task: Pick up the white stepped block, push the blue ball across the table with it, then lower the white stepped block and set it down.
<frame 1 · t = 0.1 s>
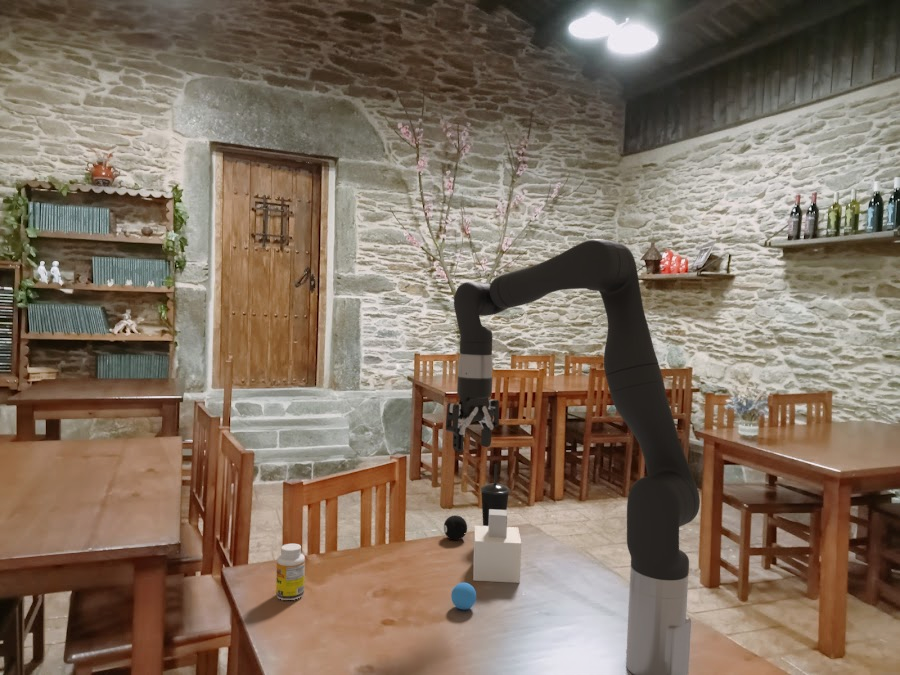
hand: (472, 448, 139), 29 cm above the table, tool pointing down, fingers open, 8 cm apart
supplement bottle: (290, 597, 129), on the table
white stepped block: (495, 572, 145), on the table
billiard ball: (455, 539, 165), on the table
blue ball: (463, 595, 126), on the table
drinking cup: (493, 541, 164), on the table
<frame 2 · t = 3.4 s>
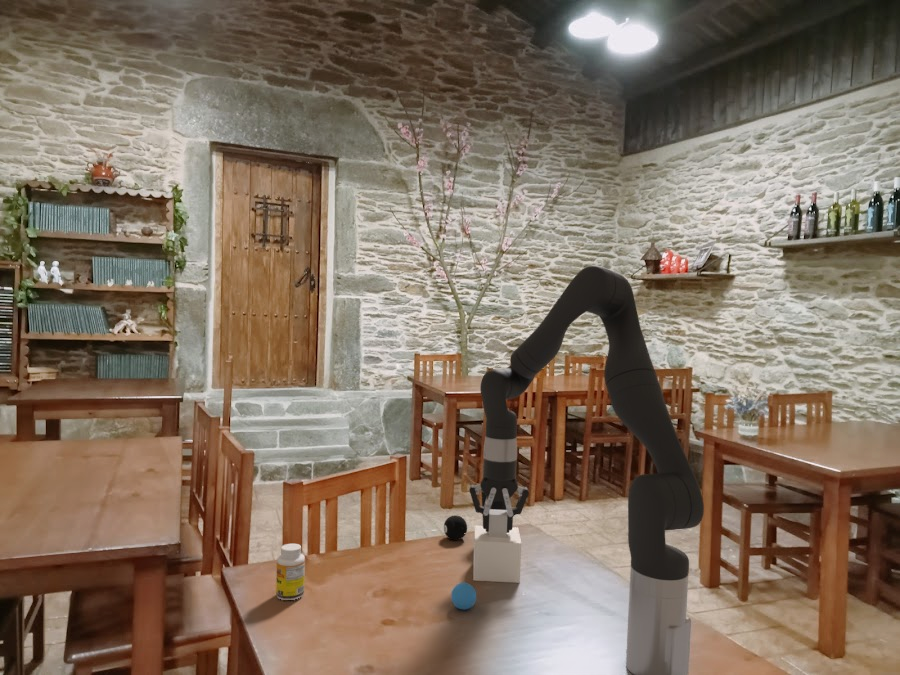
hand: (497, 530, 144), 10 cm above the table, tool pointing down, fingers closed on white stepped block, 4 cm apart
white stepped block: (495, 572, 145), on the table, touching gripper
everything else where it was.
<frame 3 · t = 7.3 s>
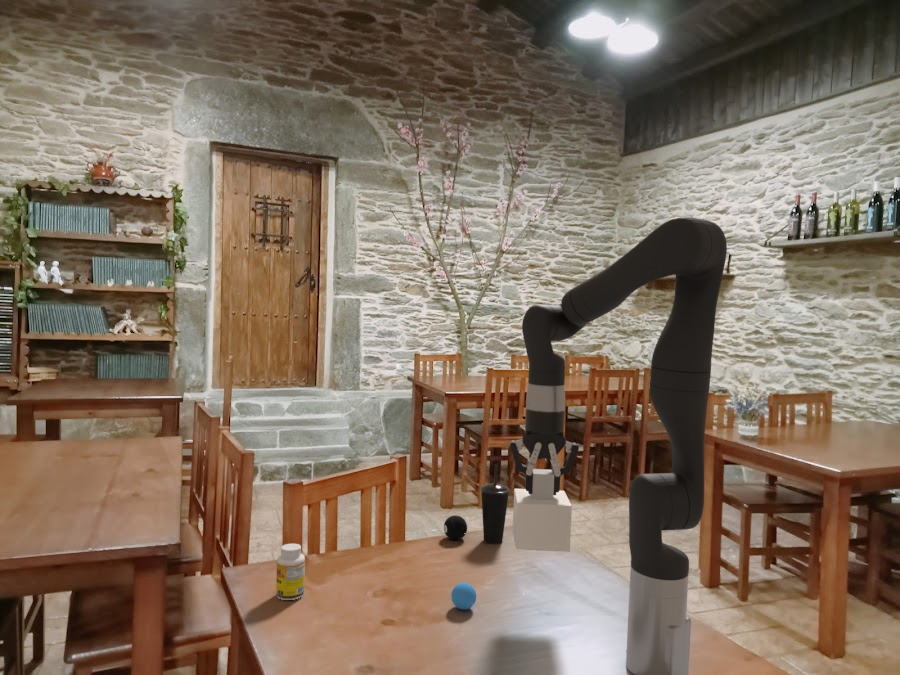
hand: (541, 493, 125), 24 cm above the table, tool pointing down, fingers closed on white stepped block, 4 cm apart
white stepped block: (540, 540, 125), point 14 cm above the table, touching gripper
everything else where it was.
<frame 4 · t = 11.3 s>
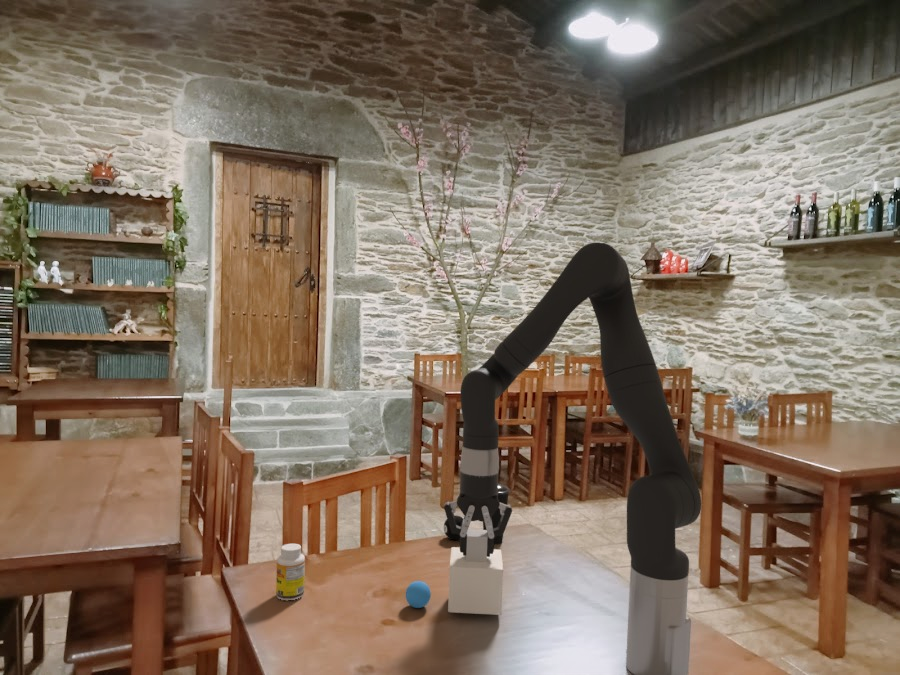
hand: (476, 554, 126), 11 cm above the table, tool pointing down, fingers closed on white stepped block, 4 cm apart
white stepped block: (474, 601, 126), point 1 cm above the table, touching gripper
blue ball: (418, 594, 126), on the table
everything else where it was.
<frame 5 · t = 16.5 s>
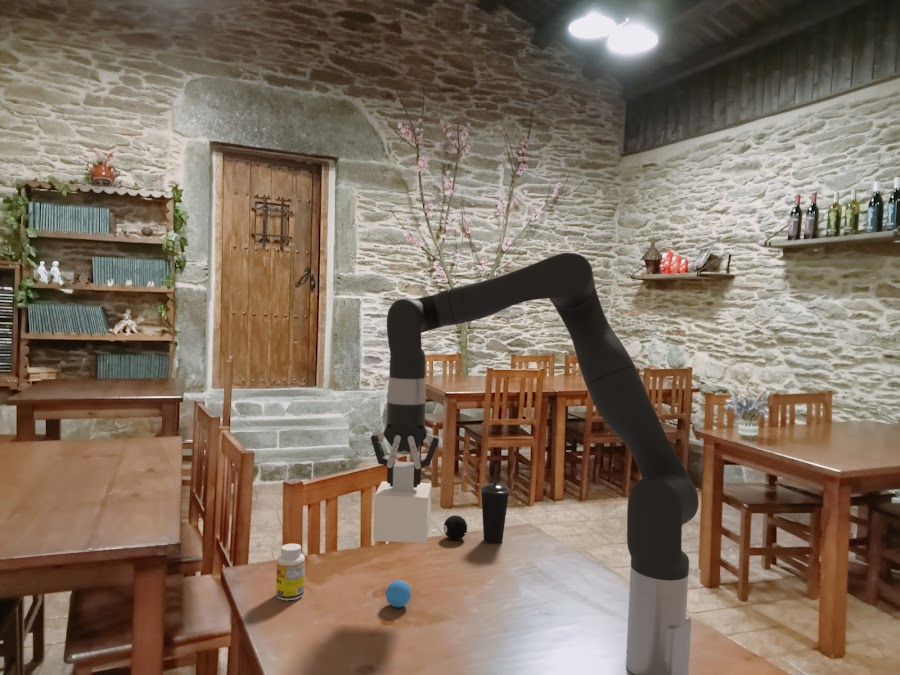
hand: (403, 485, 126), 24 cm above the table, tool pointing down, fingers closed on white stepped block, 4 cm apart
white stepped block: (402, 532, 126), point 15 cm above the table, touching gripper
blue ball: (398, 593, 126), on the table
everything else where it was.
when the fingers open (10 cm above the table, at t = 21.3 s): white stepped block stays where it is, on the table.
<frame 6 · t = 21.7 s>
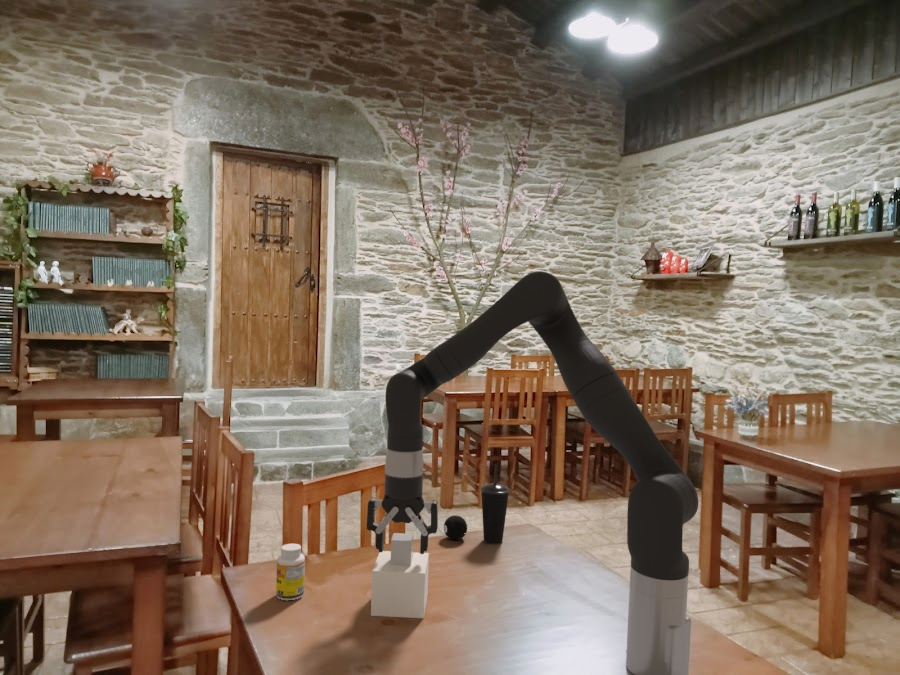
hand: (401, 551, 126), 11 cm above the table, tool pointing down, fingers open, 8 cm apart
white stepped block: (400, 604, 127), on the table
everything else where it was.
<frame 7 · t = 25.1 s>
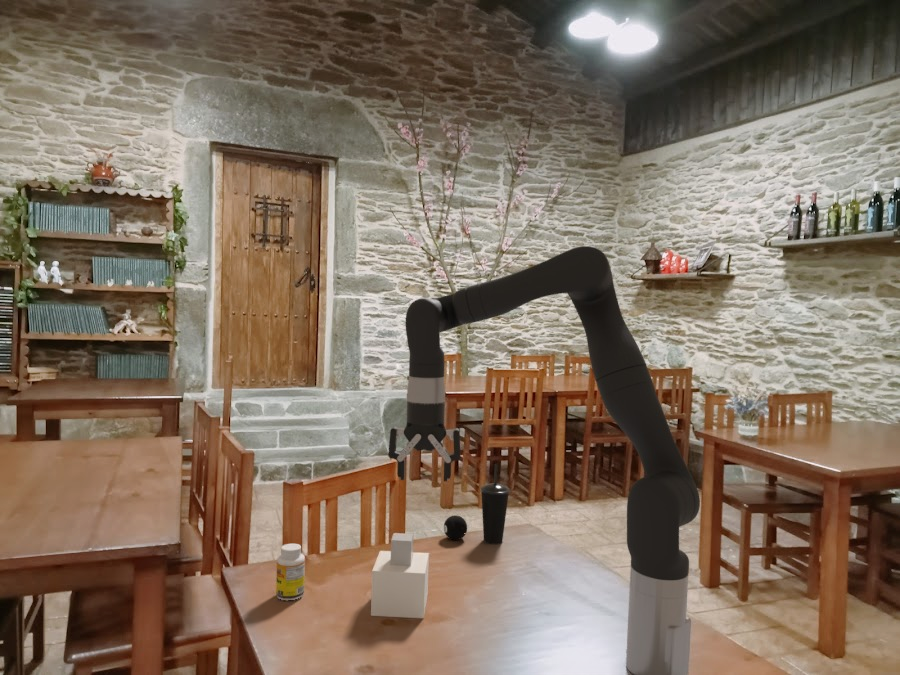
hand: (424, 479, 127), 25 cm above the table, tool pointing down, fingers open, 8 cm apart
nothing on the table moved.
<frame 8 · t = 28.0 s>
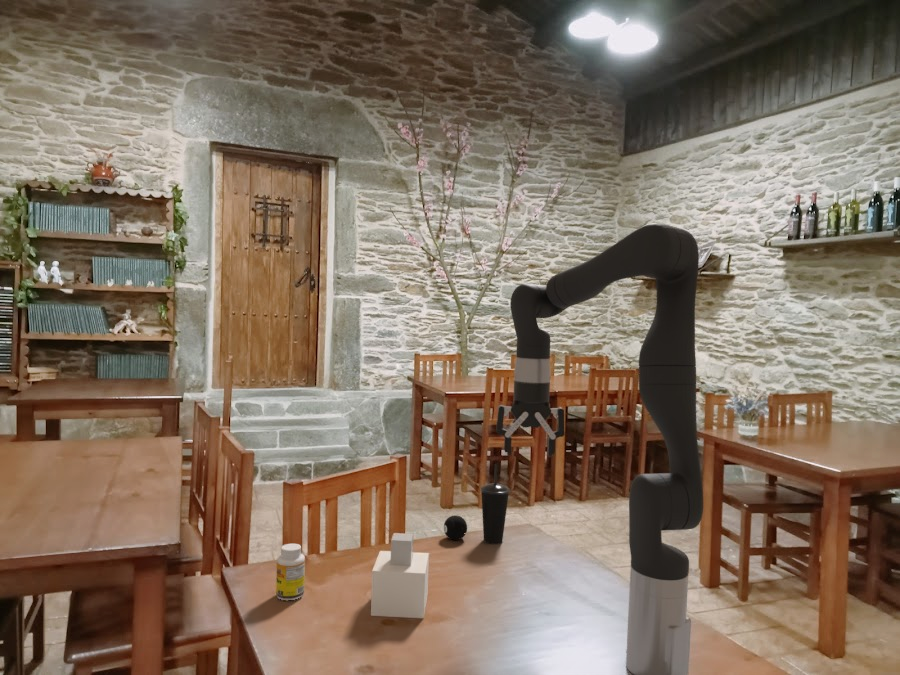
hand: (528, 455, 135), 29 cm above the table, tool pointing down, fingers open, 8 cm apart
nothing on the table moved.
at the end: blue ball 0.7 cm from the white stepped block (horizontally); white stepped block on the table; blue ball moved 13.0 cm from its start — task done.
